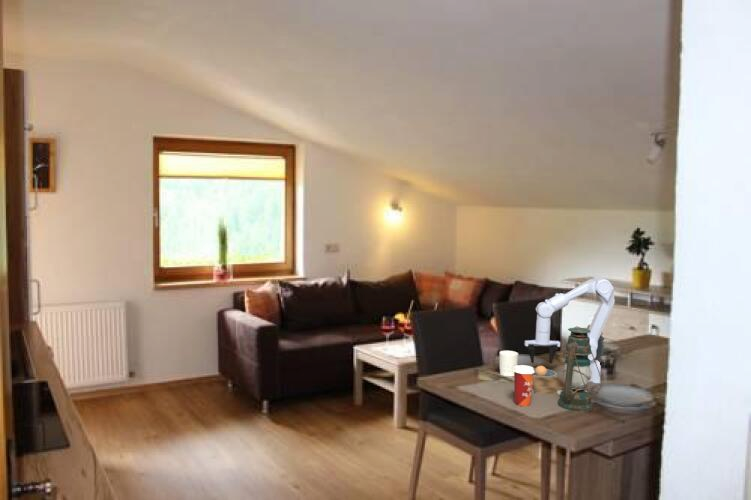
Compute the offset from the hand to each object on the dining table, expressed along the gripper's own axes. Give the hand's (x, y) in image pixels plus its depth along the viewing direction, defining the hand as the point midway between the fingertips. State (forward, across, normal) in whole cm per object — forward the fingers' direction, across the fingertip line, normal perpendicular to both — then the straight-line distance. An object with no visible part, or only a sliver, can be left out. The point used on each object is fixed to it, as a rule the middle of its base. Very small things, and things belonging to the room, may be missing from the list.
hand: (541, 362), depth 280 cm
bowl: (+7, 0, 0) cm, 7 cm away
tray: (+7, +1, +13) cm, 15 cm away
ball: (+6, 0, 0) cm, 6 cm away
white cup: (+7, +13, -4) cm, 15 cm away
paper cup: (+7, +16, +32) cm, 36 cm away
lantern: (+7, -4, +34) cm, 35 cm away
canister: (+7, -30, -27) cm, 41 cm away
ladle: (+7, -7, +20) cm, 22 cm away
